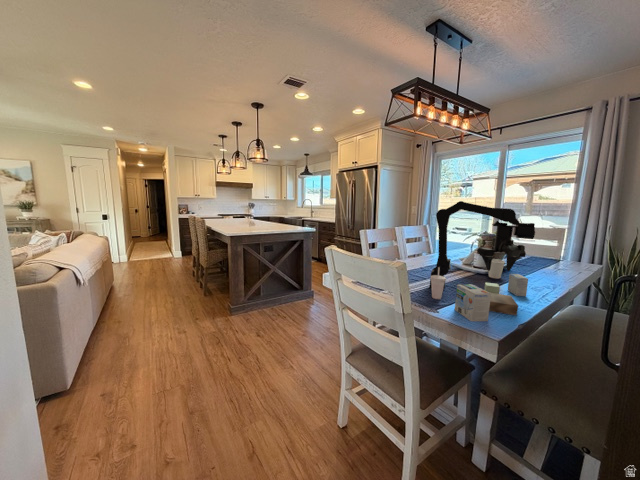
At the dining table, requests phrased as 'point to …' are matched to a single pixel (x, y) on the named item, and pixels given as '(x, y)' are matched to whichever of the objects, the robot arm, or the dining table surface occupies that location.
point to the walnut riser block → (503, 304)
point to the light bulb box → (472, 302)
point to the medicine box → (517, 284)
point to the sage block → (492, 288)
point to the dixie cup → (496, 268)
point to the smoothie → (437, 285)
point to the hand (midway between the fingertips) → (498, 270)
